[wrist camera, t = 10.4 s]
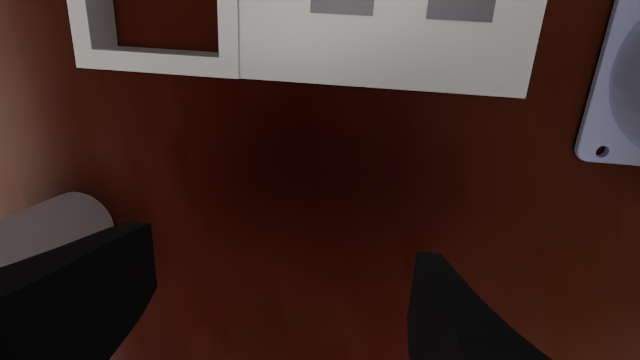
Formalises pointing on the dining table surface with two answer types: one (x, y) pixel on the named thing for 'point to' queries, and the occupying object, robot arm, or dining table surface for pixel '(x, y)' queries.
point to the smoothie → (50, 225)
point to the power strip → (341, 44)
